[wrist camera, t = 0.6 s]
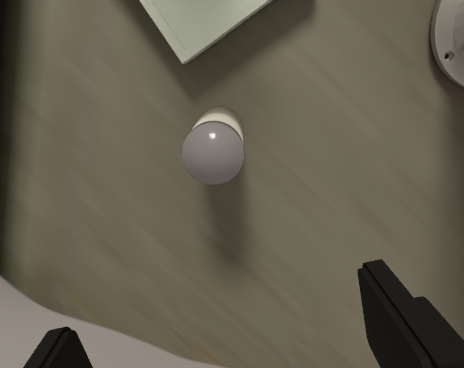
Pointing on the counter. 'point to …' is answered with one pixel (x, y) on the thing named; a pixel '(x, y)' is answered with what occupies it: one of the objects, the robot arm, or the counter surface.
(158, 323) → the counter surface
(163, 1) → the tray
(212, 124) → the shaker
